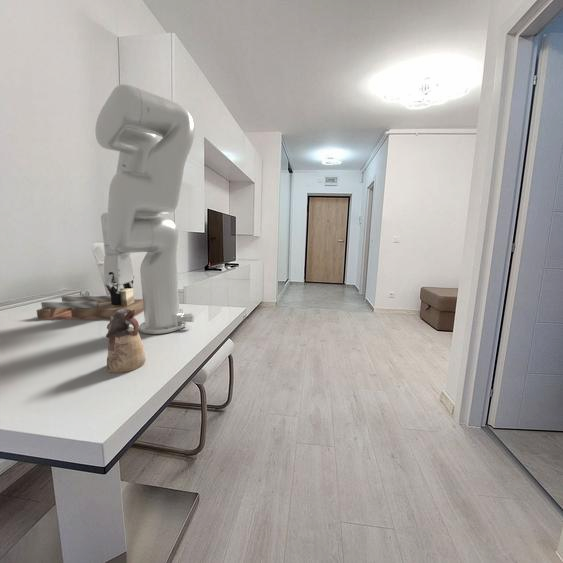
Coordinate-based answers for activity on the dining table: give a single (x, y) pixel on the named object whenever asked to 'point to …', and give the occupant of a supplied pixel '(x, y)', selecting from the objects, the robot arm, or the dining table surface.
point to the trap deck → (85, 308)
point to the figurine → (124, 343)
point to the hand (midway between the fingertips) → (123, 301)
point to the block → (126, 296)
